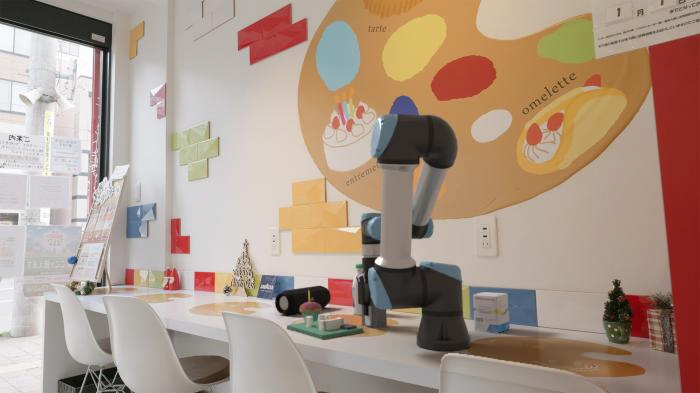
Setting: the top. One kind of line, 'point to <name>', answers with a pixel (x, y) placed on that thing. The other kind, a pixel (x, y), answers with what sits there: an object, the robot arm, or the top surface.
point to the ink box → (491, 311)
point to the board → (325, 327)
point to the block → (376, 316)
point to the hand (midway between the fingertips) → (374, 323)
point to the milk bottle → (356, 291)
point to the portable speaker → (301, 299)
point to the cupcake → (310, 309)
